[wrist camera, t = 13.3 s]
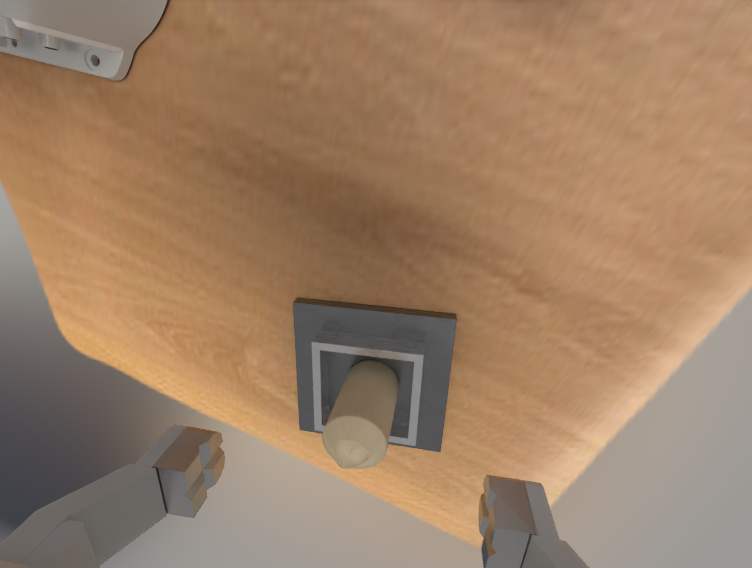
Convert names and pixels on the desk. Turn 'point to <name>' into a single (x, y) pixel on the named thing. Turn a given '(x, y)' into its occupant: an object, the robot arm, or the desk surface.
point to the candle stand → (379, 343)
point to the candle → (362, 416)
